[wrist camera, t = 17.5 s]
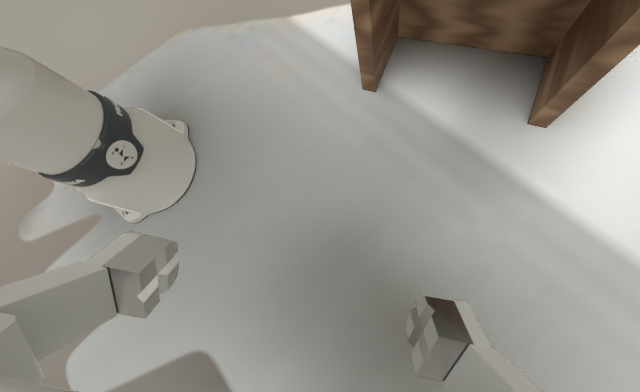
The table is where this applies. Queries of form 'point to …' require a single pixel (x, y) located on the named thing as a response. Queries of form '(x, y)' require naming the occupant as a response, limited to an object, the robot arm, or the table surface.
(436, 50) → the table surface
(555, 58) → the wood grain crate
